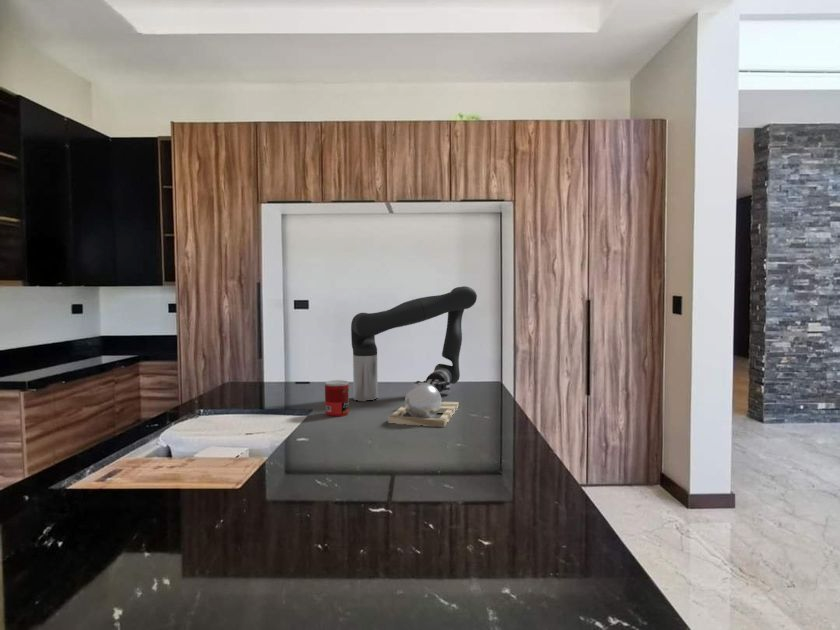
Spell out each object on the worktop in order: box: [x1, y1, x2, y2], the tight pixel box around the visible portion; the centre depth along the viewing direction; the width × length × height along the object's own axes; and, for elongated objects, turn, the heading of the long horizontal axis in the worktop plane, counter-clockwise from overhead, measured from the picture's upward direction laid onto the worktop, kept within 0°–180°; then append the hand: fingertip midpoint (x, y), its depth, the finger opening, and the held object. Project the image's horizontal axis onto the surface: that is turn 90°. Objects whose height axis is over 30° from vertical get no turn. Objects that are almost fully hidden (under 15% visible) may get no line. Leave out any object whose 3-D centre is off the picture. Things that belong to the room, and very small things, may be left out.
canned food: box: [324, 379, 350, 418], centre depth 176 cm, size 8×8×11 cm
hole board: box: [387, 400, 460, 428], centre depth 174 cm, size 26×18×2 cm
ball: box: [404, 383, 443, 418], centre depth 168 cm, size 12×12×12 cm
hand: (427, 390), depth 176 cm, fingers closed
